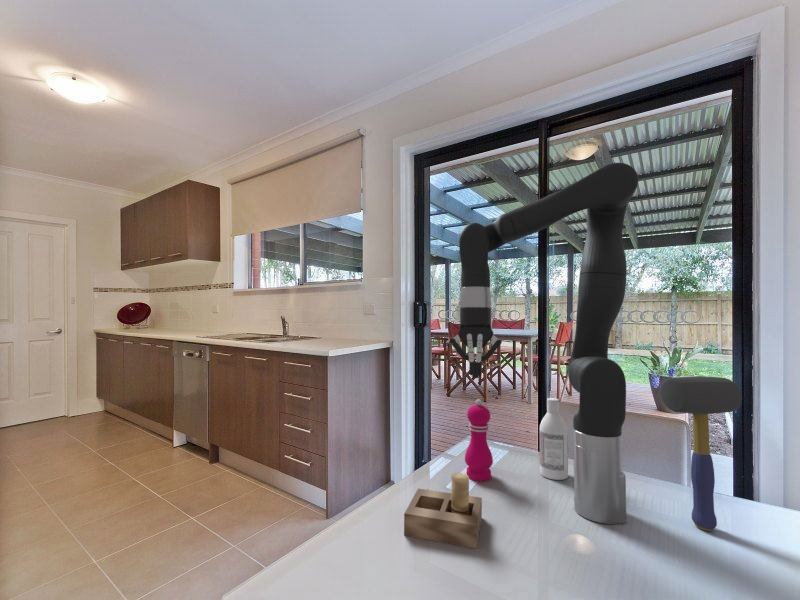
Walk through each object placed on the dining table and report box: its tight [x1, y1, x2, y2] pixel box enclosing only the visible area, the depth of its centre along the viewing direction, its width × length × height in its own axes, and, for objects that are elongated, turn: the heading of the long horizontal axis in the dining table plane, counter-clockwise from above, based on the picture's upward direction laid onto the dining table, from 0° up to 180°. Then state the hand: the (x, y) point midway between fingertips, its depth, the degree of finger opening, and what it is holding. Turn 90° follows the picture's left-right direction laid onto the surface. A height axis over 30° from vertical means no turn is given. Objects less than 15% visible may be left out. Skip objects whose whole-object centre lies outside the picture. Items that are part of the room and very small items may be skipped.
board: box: [403, 488, 483, 549], centre depth 74 cm, size 14×11×4 cm
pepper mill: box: [464, 398, 494, 482], centre depth 98 cm, size 7×7×20 cm
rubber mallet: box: [660, 375, 743, 532], centre depth 75 cm, size 12×8×30 cm, turn 95°
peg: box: [450, 472, 470, 515], centre depth 73 cm, size 4×4×10 cm
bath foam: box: [538, 397, 569, 481], centre depth 99 cm, size 7×7×20 cm
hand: (475, 377), depth 90 cm, fingers closed
